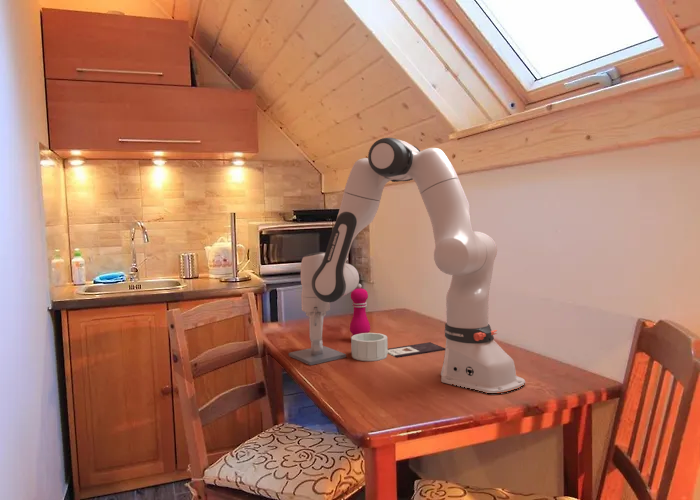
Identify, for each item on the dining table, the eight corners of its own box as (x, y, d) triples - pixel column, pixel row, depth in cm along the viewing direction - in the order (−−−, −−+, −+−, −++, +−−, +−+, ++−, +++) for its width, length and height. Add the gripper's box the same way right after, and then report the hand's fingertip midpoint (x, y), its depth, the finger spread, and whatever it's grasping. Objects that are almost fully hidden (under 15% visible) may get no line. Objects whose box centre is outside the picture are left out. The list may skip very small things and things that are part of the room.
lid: (346, 357, 163) (345, 341, 162) (310, 365, 155) (309, 348, 155) (323, 348, 173) (322, 333, 173) (288, 355, 166) (288, 340, 165)
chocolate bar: (445, 348, 169) (397, 356, 161) (445, 351, 169) (397, 359, 161) (430, 342, 177) (383, 349, 169) (430, 344, 177) (383, 352, 169)
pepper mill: (362, 344, 178) (361, 285, 176) (345, 341, 182) (344, 284, 180) (374, 339, 183) (373, 283, 182) (358, 337, 188) (356, 281, 186)
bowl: (394, 356, 162) (394, 337, 162) (366, 363, 156) (365, 343, 156) (372, 349, 171) (372, 331, 171) (345, 355, 165) (344, 336, 164)
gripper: (325, 310, 153) (327, 357, 154) (326, 298, 173) (327, 339, 174) (304, 311, 152) (305, 357, 154) (306, 299, 173) (308, 340, 174)
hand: (317, 348), depth 164 cm, fingers closed on lid, 4 cm apart
